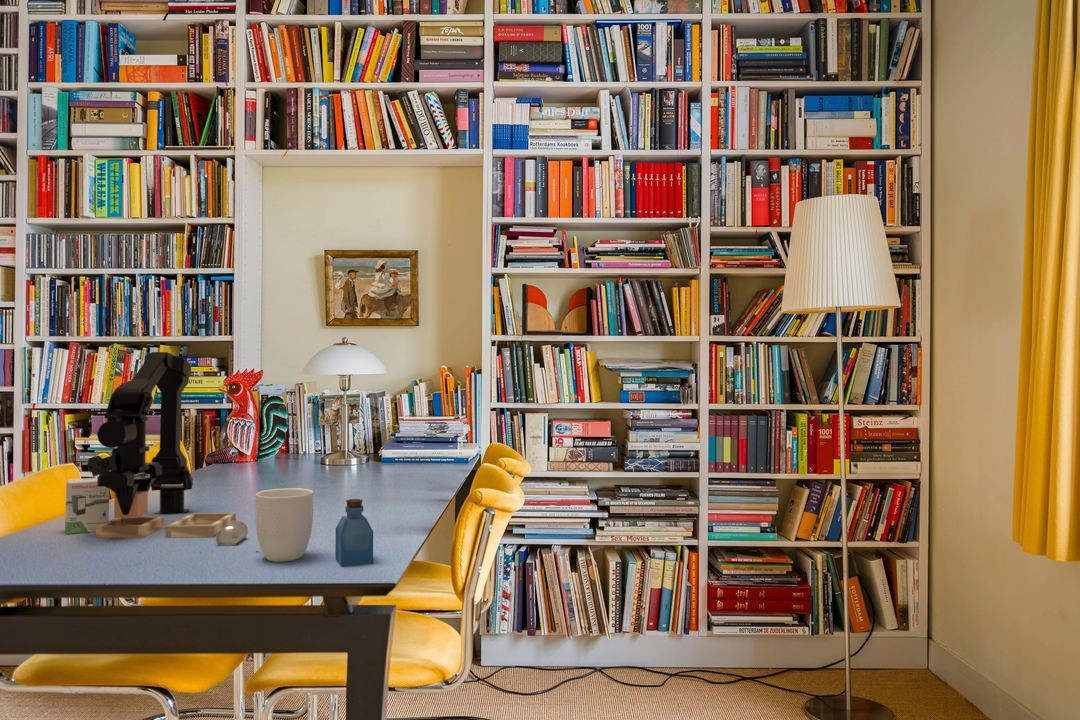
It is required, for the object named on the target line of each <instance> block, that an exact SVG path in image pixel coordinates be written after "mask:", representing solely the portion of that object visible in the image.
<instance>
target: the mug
mask: <svg viewBox="0 0 1080 720" xmlns="http://www.w3.org/2000/svg"><path fill="white" fill-rule="evenodd" d="M254 507H255V511H254V514H255V518H254V519H255V520H254V521H255V522H254V523H255V531H256V537H257V542H258V545H259V548H260V550H261V552H262V554H263V556H264V557H265V558H266V559H267V561H270V562H276V563H283V562H286V563H287V562H292V561H296V560H299V559H300V558H302V556H303V555H304V554H305V552H306V550H307V548H308V546H309V543H310V539H311V535H312V528H313V521H314V491H313V490H311V489H308V488H301V487H300V488H299V487H295V488H294V487H293V488H292V487H289V488H285V487H284V488H273V489H267V490H261V491H258V492H256V494H255V506H254Z"/></svg>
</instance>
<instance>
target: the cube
mask: <svg viewBox="0 0 1080 720" xmlns="http://www.w3.org/2000/svg"><path fill="white" fill-rule="evenodd" d="M148 493H149V491H136V493H135V496H134V499H133V502H132V506H131V509H130V511H129V514H128V515H123V514H122V511H121V509H120V506H119V503H118V500H117V497H116V495H115V494H114V497H113V498H114V499H113V500H114V501H113V502H114V504H113V505H114V506H113V507H114V509H113V511H114V513H113V515H114V517H113V518H114V519H115V518H138V517H144V516H145V515H147V514H148V509H149V508H148V507H149V506H148V501H149V499H148V498H149V497H148Z"/></svg>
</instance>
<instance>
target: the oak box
mask: <svg viewBox="0 0 1080 720" xmlns="http://www.w3.org/2000/svg"><path fill="white" fill-rule="evenodd" d="M164 519H165V518H164V516H140V517H138V518H114V519H111V520H110V519H109V521H108V522H106V523H103V524H101V525H98V526H96V532H95V539H97V538H98V539H101V538H102V539H104V538H105V539H106V538H107V539H108V538H111V539H113V538H114V539H115V538H116V539H117V538H118V539H119V538H121V539H122V538H127V539H129V538H146V537H147V536H150V535H152V534H155V533H156V532H158V531H160V530H162V529H164V525H165V523H164V522H165V520H164Z"/></svg>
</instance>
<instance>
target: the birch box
mask: <svg viewBox="0 0 1080 720" xmlns="http://www.w3.org/2000/svg"><path fill="white" fill-rule="evenodd" d="M235 521H237V512H192V513H190V514H188V515H186V516H184V517H182V518H180V519H178V520H176V521H174V522H172V523H170V524H168V525H166V526H165V534H164V535H165V538H166V539H171V538H172V539H177V538H179V539H181V538H184V539H186V538H191V539H192V538H193V539H194V538H196V539H197V538H198V539H199V538H201V539H202V538H205V539H206V538H207V539H208V538H216V535H217V533H218V532H219V531H220V530H221V529H223V528H225V527H226V526H228V525H229V524H231V523H233V522H235Z"/></svg>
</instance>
